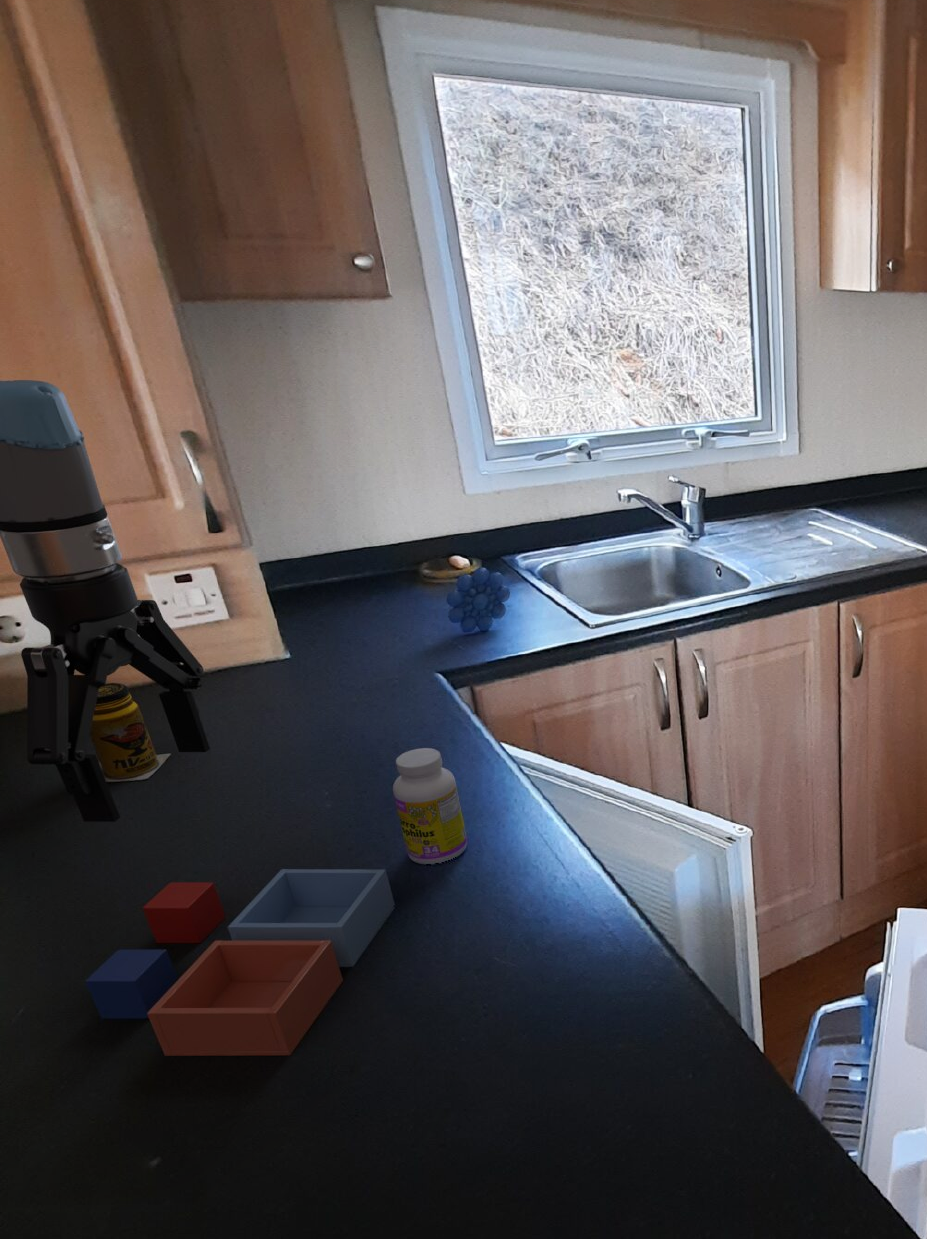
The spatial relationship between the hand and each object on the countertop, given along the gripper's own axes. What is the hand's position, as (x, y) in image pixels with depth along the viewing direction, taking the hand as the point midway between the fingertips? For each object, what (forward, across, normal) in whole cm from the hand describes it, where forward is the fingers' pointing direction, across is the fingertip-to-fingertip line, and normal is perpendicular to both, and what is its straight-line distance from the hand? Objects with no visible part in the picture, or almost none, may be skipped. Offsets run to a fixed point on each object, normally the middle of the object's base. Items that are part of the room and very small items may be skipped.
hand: (151, 783), depth 94 cm
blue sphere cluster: (+18, +91, +3) cm, 93 cm away
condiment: (+18, +35, +32) cm, 51 cm away
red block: (+18, 0, +2) cm, 18 cm away
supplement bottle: (+18, +15, -18) cm, 30 cm away
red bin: (+18, -13, -12) cm, 25 cm away
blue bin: (+18, -1, -12) cm, 22 cm away
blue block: (+18, -11, 0) cm, 21 cm away
